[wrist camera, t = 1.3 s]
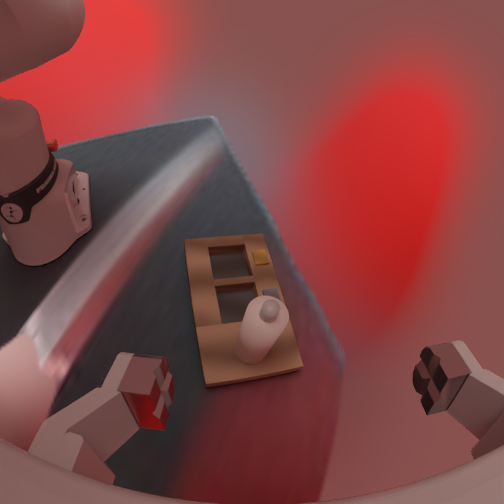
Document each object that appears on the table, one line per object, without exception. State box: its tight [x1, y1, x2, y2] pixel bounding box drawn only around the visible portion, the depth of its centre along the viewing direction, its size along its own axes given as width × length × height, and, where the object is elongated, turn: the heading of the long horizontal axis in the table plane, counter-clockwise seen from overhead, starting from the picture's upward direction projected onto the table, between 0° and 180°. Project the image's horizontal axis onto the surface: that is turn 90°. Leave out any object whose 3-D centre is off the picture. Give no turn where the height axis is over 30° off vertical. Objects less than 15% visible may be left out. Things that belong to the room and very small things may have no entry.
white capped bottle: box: [234, 296, 289, 364], centre depth 30 cm, size 4×4×12 cm
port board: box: [184, 234, 303, 388], centre depth 40 cm, size 21×12×3 cm, turn 13°
